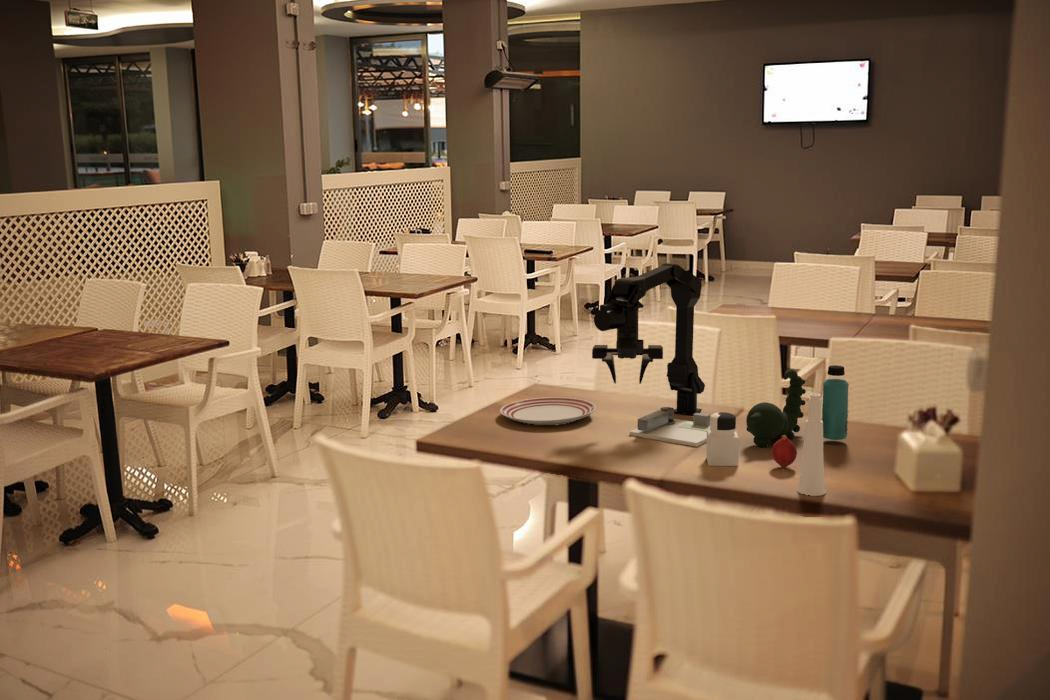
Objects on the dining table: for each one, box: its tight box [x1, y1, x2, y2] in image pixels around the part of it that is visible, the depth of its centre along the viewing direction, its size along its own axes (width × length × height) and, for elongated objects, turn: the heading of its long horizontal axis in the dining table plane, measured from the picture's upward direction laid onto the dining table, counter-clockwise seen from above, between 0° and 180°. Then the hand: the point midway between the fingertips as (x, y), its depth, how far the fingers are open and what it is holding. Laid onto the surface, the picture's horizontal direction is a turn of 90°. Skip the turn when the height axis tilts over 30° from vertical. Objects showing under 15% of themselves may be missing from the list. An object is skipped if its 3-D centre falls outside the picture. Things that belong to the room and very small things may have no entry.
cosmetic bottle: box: [796, 393, 827, 497], centre depth 221 cm, size 6×6×22 cm
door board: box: [629, 412, 711, 448], centre depth 271 cm, size 18×20×4 cm
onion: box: [770, 435, 798, 469], centre depth 239 cm, size 6×6×8 cm
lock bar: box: [637, 406, 675, 432], centre depth 273 cm, size 15×4×3 cm, turn 143°
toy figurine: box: [745, 368, 807, 448], centre depth 260 cm, size 9×19×25 cm
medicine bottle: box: [705, 411, 740, 467], centre depth 244 cm, size 7×7×12 cm
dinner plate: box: [499, 396, 597, 426], centre depth 289 cm, size 27×27×3 cm
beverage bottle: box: [821, 365, 850, 441], centre depth 258 cm, size 6×7×20 cm
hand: (627, 383), depth 272 cm, fingers open, 6 cm apart
